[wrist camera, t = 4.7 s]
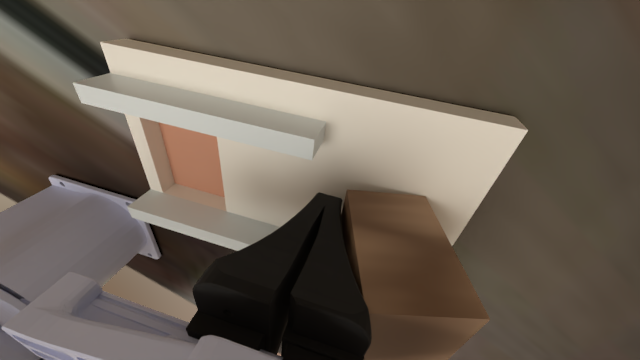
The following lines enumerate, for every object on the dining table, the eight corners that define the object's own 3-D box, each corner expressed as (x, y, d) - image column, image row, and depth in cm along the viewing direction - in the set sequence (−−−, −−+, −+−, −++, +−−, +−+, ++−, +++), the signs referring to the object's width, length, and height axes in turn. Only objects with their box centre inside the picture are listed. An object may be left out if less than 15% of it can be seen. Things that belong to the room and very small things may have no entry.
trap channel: (173, 202, 21) (138, 232, 18) (125, 38, 14) (57, 47, 11) (419, 275, 18) (422, 324, 16) (514, 116, 11) (551, 154, 9)
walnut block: (334, 242, 15) (342, 363, 10) (347, 189, 13) (365, 313, 8) (401, 247, 15) (440, 366, 10) (425, 196, 13) (490, 319, 8)
